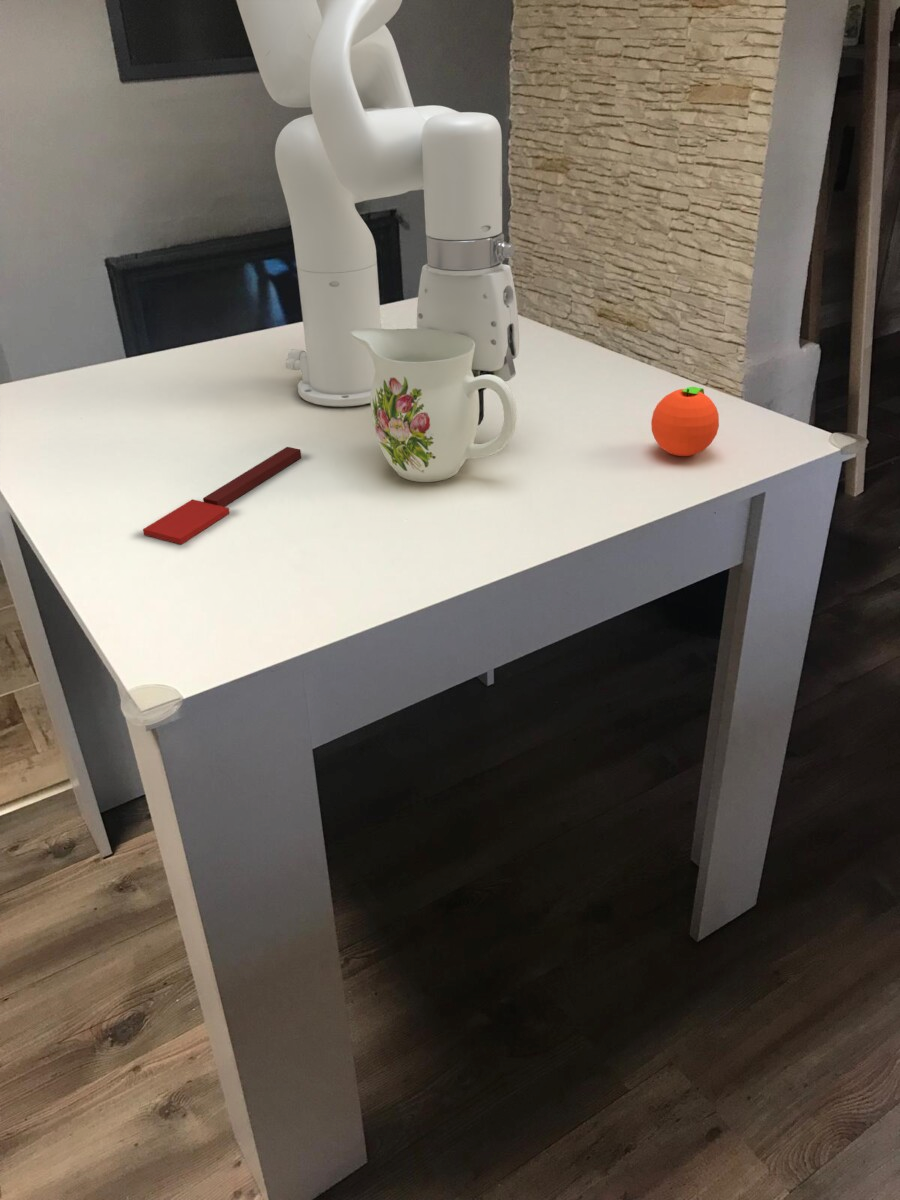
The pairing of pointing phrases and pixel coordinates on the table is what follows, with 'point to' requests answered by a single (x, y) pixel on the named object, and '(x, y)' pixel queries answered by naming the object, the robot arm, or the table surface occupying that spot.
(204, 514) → the spatula
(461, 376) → the pitcher
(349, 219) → the robot arm
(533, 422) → the table surface
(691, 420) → the clementine
